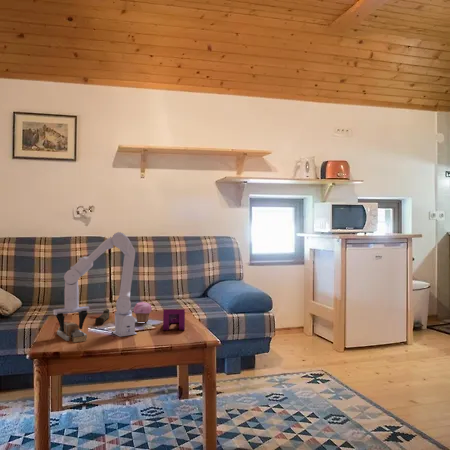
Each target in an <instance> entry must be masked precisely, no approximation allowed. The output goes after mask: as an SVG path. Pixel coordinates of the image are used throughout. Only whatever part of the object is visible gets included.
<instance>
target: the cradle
mask: <svg viewBox="0 0 450 450" xmlns="http://www.w3.org/2000/svg"><path fill="white" fill-rule="evenodd" d="M80 331H81V332H83V331H82V330H80ZM83 333H84V335H85V336H86V339H87V338H88V334H87V333H86V332H83ZM56 335H58V336H59V337H60V338H61V339H63V340H64V341H66V342H67V341H70V339H69V336H67V335H66V334H64V332H62V331H60V330H59V331H58V330H56Z"/></svg>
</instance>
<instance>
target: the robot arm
mask: <svg viewBox="0 0 450 450" xmlns="http://www.w3.org/2000/svg"><path fill="white" fill-rule="evenodd" d="M114 247H115V248H118V249H119V250H120V251H121V252H122V253H123V255H124V256H123V263H122V273H121V281H120V288H119V289H120V290H119V293H118V295H119V296H118V298H117V299H116V302H115V309H116V311H115V312H114V330H112V331H111V333H112V332H113V333H112V334H114V335H116V336H118V337H121V338H122V337H127V336H133V335H134V336H135V335H138V333H137V332H136V319H135V317H134V316H133V312H132V310H131V308H132V304H131V303H132V302H131V289H132V283H133V274H134V268H135V267H134V265H135V258H136V249H135V248H134V246H133V243H132V242H131V240H130V239H129V237H128V236H127V235H126V234H124V233H123V232H121V231H120V232H119V231H118V232H115V233H114V234H113V235H112V236H110V237H108V238H106V239H105V240H104V241H102V242H101V244H99V246H97V247H96V248H95V249H94V250H93V251H92V252H91V253H90V254H89V255H88V256H82V257H79V258H78V261H77V262H76V263H75V264H74V265H70V267H69V268H70V269H68V270H67V271H66V272H65V273H64V275H63V280H64V307H63V308H58V309H53V315H54V316H55V318H57V319H56V320H57V321H58V324H59V327H60V328H61V331H62V332H63V333H64V322H65V314H75V313H78V325H79V330H82V329H83V326H84V323H85V320H86V318H87V317H88V314H89V313H88V312H90V306H88V305H87V306H79V305H80V303H79V301H80V297H79V295H80V291H79V289H80V287H79V279H80V278H81V277H83V276H84V275H85V274H87V272H89V270H90V269H92V268H93V266H94V262H95V261H96V260H97V259H98V258H99V257H100V256H101V255H103V254H104V252H106V251H107V250H111V249H114Z"/></svg>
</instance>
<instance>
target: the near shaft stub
mask: <svg viewBox="0 0 450 450" xmlns="http://www.w3.org/2000/svg"><path fill="white" fill-rule="evenodd" d="M81 331H82V330H81V329H79V330H78V329H74V330H73V331H72V332H71V337H72V338H71V339H72V343H73V344H74V343H80V342H81V343H83V342H87V338H86V336H85V335H84V333H85V332H84V333H83V331H82V332H81Z"/></svg>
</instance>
